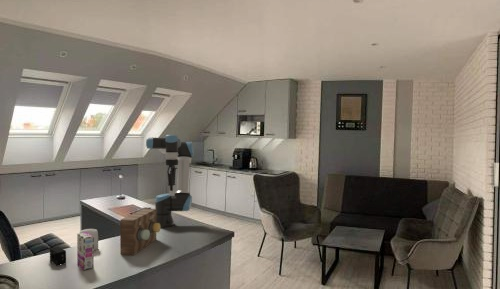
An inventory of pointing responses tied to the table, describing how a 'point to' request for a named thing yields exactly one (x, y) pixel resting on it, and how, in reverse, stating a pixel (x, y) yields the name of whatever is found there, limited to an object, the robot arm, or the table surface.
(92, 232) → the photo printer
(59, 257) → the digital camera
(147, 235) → the sage button
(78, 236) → the candy bar box
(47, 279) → the table surface
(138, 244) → the console
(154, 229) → the ochre button
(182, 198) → the robot arm
